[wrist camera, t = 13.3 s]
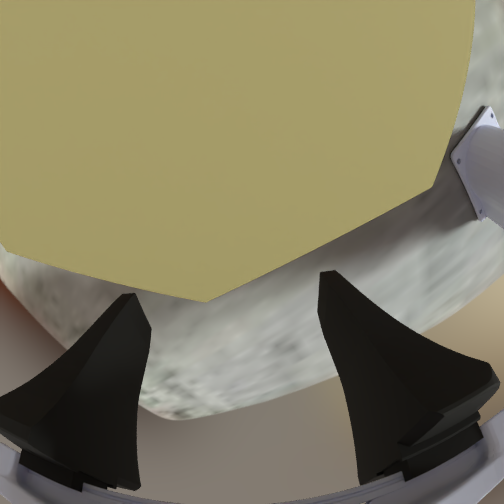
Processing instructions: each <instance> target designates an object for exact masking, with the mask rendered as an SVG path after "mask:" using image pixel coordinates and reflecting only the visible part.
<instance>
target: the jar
mask: <svg viewBox="0 0 504 504" xmlns="http://www.w3.org/2000/svg"><path fill="white" fill-rule="evenodd" d="M474 19H475V0H0V242H1V244H2V245H3V247H4V248H5V249H6V251H7V252H10V253H13V254H16V255H19V256H22V257H25V258H28V259H32V260H35V261H38V262H41V263H44V264H48V265H51V266H54V267H58V268H61V269H65V270H68V271H72V272H75V273H79V274H83V275H86V276H90V277H94V278H98V279H102V280H105V281H109V282H113V283H117V284H122V285H126V286H130V287H134V288H138V289H143V290H147V291H152V292H156V293H161V294H165V295H170V296H175V297H180V298H185V299H190V300H195V301H200V302H205V303H206V302H208V301H210V300H212V299H214V298H216V297H219V296H221V295H223V294H225V293H227V292H229V291H231V290H233V289H235V288H237V287H240V286H242V285H244V284H246V283H248V282H250V281H252V280H254V279H256V278H258V277H260V276H262V275H264V274H266V273H268V272H270V271H272V270H274V269H277V268H279V267H281V266H283V265H285V264H287V263H289V262H291V261H293V260H295V259H297V258H299V257H301V256H303V255H305V254H307V253H309V252H311V251H313V250H315V249H316V248H318V247H320V246H322V245H324V244H326V243H328V242H330V241H332V240H334V239H336V238H338V237H340V236H342V235H344V234H346V233H348V232H350V231H351V230H353V229H355V228H357V227H359V226H361V225H363V224H365V223H367V222H369V221H371V220H372V219H374V218H376V217H378V216H380V215H382V214H384V213H386V212H387V211H389V210H391V209H393V208H395V207H397V206H399V205H400V204H402V203H404V202H406V201H408V200H410V199H411V198H413V197H415V196H417V195H419V194H420V193H422V192H424V191H426V190H428V189H430V188H431V187H432V186H433V183H434V181H435V178H436V176H437V173H438V171H439V168H440V165H441V163H442V160H443V157H444V155H445V152H446V149H447V146H448V143H449V140H450V137H451V134H452V131H453V128H454V124H455V121H456V117H457V114H458V110H459V107H460V103H461V99H462V95H463V91H464V86H465V82H466V77H467V72H468V66H469V61H470V54H471V48H472V40H473V31H474Z"/></svg>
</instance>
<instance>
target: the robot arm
mask: <svg viewBox="0 0 504 504" xmlns="http://www.w3.org/2000/svg"><path fill="white" fill-rule="evenodd" d="M451 160H452V162H453V164H454V166H455V168H456V170H457V172H458V174H459V176H460V178H461V180H462V182H463V184H464V186H465V188H466V191H467V193H468V195H469V197H470V200H471V202H472V204H473V207H474V209H475V212H476V214H477V217H478V219H479V221H481V222H482V221H484V219H485V218H486V217H488V218H490V219H491V220H492V221H494V222H495V223H496V224H498V225H499V226H500V227H502V228H503V229H504V129H501V128H500V127H499V124H498V122H497V120H496V117H495V115H494V112H493V110H492V108H491V107H490V106H486V107H485V108H484V110H483V111H482V113H481V114H480V116H479V117H478V118H477V120H476V121H475V123H474V124H473V125H472V127H471V128H470V129H469V131H468V132H467V133H466V135H465V136H464V137H463V139H462V140H461V141H460V143H459V144H458V145H457V146H456V148H455V149H454V150H453V151H452V153H451ZM457 160H458V162H457ZM317 312H318V316H319V320H320V324H321V328H322V332H323V335H324V338H325V340H326V343H327V346H328V348H329V351H330V353H331V356H332V359H333V361H334V364H335V366H336V369H337V372H338V374H339V377H340V380H341V383H342V386H343V390H344V393H345V398H346V402H347V407H348V411H349V416H350V421H351V426H352V431H353V438H354V444H355V451H356V460H357V469H358V479H359V483H360V486H358V487H355V488H351V489H348V490H344V491H340V492H336V493H332V494H328V495H323V496H319V497H314V498H309V499H303V500H296V501H290V502H283V503H273V504H360V503H363V502H366V503H365V504H477V503H478V502H479V501H480V500H481V499H482V498H483V497H484V496H485V495H487V493H489V492H490V491H491V490H492V489H493V488H494V487H495V486H496V485H497V484H498V483H499V482H500V481H502V480H503V479H504V409H503V410H501V411H500V412H499V413H497V414H496V415H495V416H493V417H492V418H491V419H489V420H488V421H487V422H485V423H484V424H483V425H482V426H480V427H479V425H478V423H477V421H478V420H480V414H479V412H478V410H479V409H480V408H481V407H482V406H483V405H484V404H485V403H486V402H487V401H488V400H489V399H490V398H491V397H492V396H493V395H494V394H495V392H496V391H497V390H498V389H499V386H500V381H499V379H498V377H497V376H496V374H495V372H494V371H493V369H492V367H491V366H490V364H489V363H487V362H484V361H481V360H478V359H475V358H471V357H468V356H465V355H462V354H460V353H458V352H455V351H452V350H450V349H447V348H445V347H443V346H441V345H439V344H437V343H435V342H433V341H431V340H429V339H427V338H425V337H424V336H422V335H420V334H418V333H416V332H415V331H413V330H411V329H410V328H408V327H407V326H405V325H404V324H402V323H400V322H399V321H397V320H396V319H394V318H393V317H392V316H390V315H389V314H388V313H386V312H385V311H384V310H382V309H381V308H380V307H378V306H377V305H376V304H374V303H373V302H372V301H371V300H369V299H368V298H367V297H366V296H365V295H363V294H362V293H361V292H360V291H359V290H358V289H356V288H355V287H354V286H353V285H352V284H351V283H350V282H348V281H347V280H346V279H345V278H344V277H343V276H342V275H340V274H339V273H338V272H337V271H336V270H333V271H326V272H320V281H319V297H318V310H317ZM151 330H152V329H151V327H150V324H149V322H148V320H147V318H146V316H145V314H144V312H143V310H142V307H141V305H140V303H139V301H138V298H137V296H136V294H135V293H129V294H122V295H121V296H120V297H119V298H117V299H116V300H115V301H114V302H113V303H112V305H111V306H110V307H109V308H108V309H107V310H106V311H105V312H104V313H103V314H102V315H101V316H100V317H99V318H98V320H97V321H96V322H95V323H94V324H93V325H92V326H91V327H90V328H89V329H88V330H87V331H86V332H85V333H84V334H83V335H82V336H81V337H80V338H79V339H78V341H77V342H76V343H75V344H74V345H73V346H72V347H71V348H70V349H68V350H67V351H66V352H65V353H64V354H63V355H62V356H61V357H60V358H58V359H57V360H56V361H55V362H54V363H53V364H51V365H50V366H49V367H48V368H46V369H45V370H44V371H42V372H41V373H40V374H38V375H37V376H36V377H34V378H33V379H31V380H30V381H28V382H27V383H25V384H23V385H22V386H20V387H18V388H17V389H15V390H13V391H11V392H9V393H7V394H5V395H3V396H1V397H0V434H2V435H3V436H4V437H6V438H7V439H8V440H10V441H11V442H13V443H14V444H16V445H17V446H19V447H20V448H21V449H22V451H21V454H20V453H19V452H17V451H15V450H14V449H12V448H10V447H9V446H7V445H5V444H4V443H0V494H1V495H2V496H4V497H5V498H6V499H7V500H8V501H10V502H11V503H12V504H179V503H171V502H163V501H156V500H150V499H145V498H139V497H134V496H130V495H125V494H121V493H117V492H113V491H109V490H107V487H110V488H113V489H116V487H120V488H124V489H128V490H133V491H135V490H137V489H139V488H140V487H141V483H140V477H139V469H138V461H137V442H136V441H137V436H136V435H137V433H136V432H137V410H138V401H139V395H140V390H141V385H142V381H143V376H144V372H145V368H146V363H147V359H148V354H149V349H150V340H151ZM376 480H377V481H376ZM373 481H374V482H373ZM370 482H371V483H370ZM367 483H368V484H367ZM364 484H365V485H364Z"/></svg>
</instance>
